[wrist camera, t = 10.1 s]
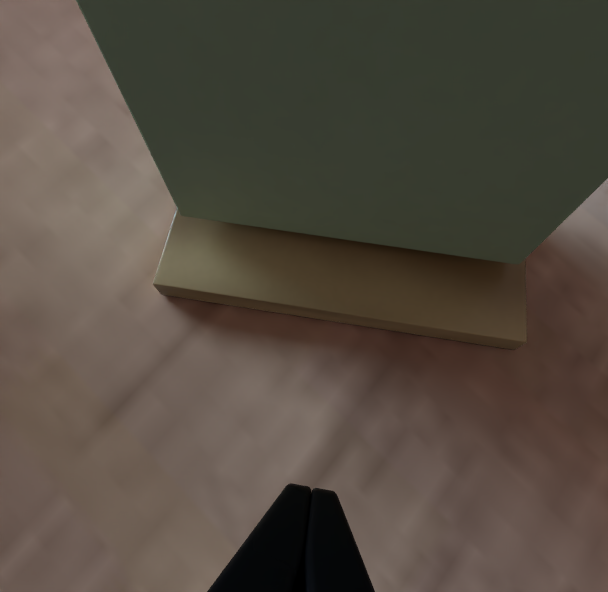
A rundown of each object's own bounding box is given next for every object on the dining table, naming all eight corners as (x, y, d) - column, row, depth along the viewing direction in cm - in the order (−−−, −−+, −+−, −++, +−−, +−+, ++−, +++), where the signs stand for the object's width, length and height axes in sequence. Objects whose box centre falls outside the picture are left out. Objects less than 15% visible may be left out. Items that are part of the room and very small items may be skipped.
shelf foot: (514, 350, 16) (527, 342, 15) (160, 294, 17) (151, 284, 16) (513, 207, 18) (524, 193, 17) (200, 164, 19) (195, 149, 18)
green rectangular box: (519, 265, 15) (1294, -486, 3) (180, 216, 16) (-190, -539, 4) (518, 149, 17) (1021, -616, 5) (213, 109, 18) (22, -637, 6)
